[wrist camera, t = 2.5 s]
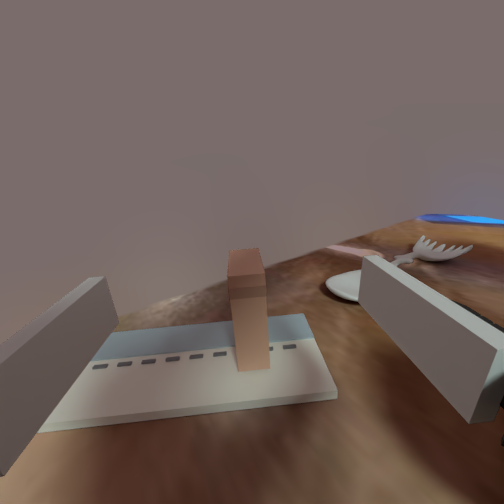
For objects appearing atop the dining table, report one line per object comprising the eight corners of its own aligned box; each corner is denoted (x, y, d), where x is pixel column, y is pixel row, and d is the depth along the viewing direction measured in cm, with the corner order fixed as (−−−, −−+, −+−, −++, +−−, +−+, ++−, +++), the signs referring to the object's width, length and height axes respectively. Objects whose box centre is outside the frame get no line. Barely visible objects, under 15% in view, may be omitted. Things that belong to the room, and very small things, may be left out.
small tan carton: (263, 326, 28) (258, 247, 24) (270, 368, 22) (265, 273, 18) (237, 329, 28) (228, 250, 24) (238, 372, 22) (226, 276, 18)
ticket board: (303, 320, 31) (303, 313, 30) (337, 398, 20) (337, 388, 20) (102, 340, 30) (99, 333, 29) (31, 433, 19) (26, 423, 19)
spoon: (471, 260, 44) (476, 243, 43) (363, 322, 30) (365, 299, 29) (420, 248, 52) (422, 233, 51) (313, 293, 37) (313, 273, 36)
